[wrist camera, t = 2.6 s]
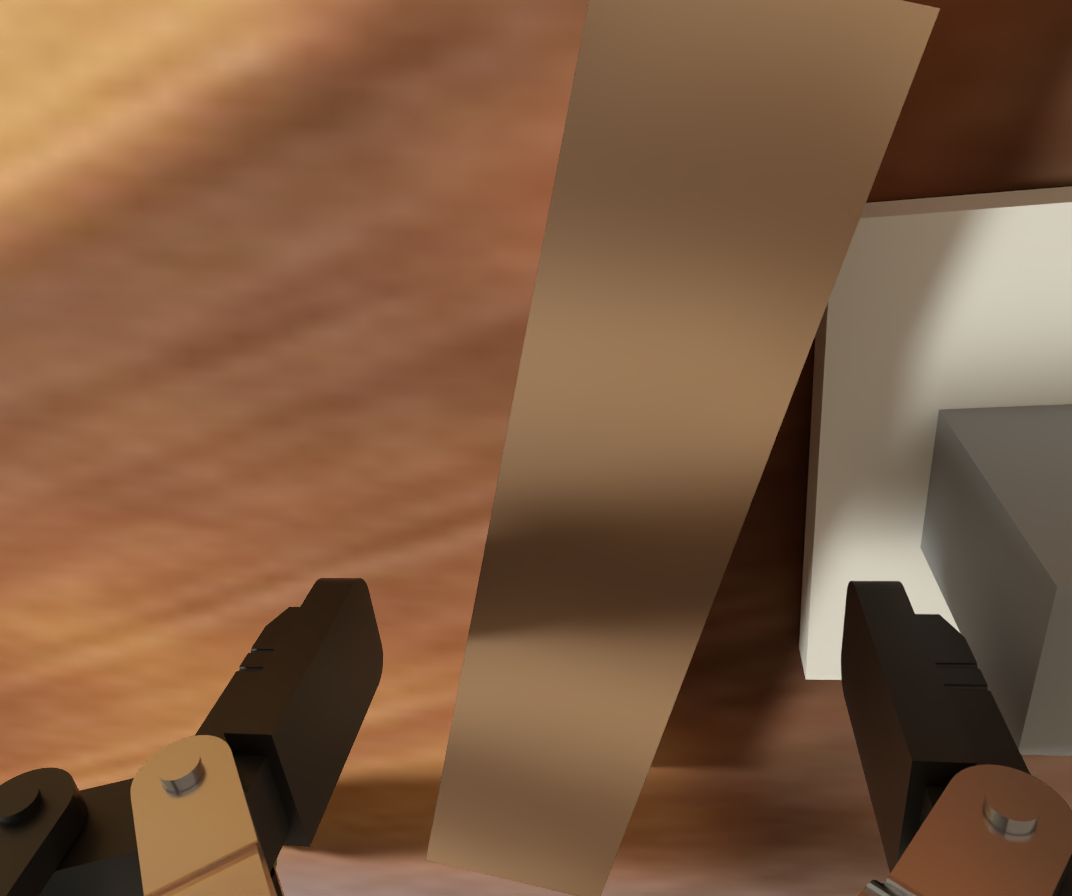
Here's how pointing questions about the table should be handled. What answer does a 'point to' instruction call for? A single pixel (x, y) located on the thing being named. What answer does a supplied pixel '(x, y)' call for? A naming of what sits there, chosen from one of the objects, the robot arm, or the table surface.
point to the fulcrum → (952, 441)
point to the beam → (653, 394)
